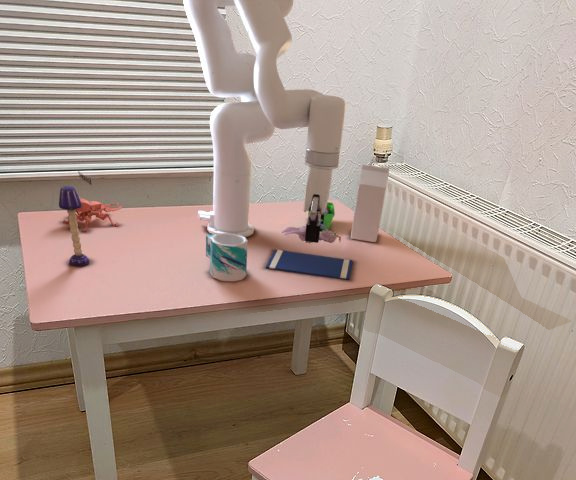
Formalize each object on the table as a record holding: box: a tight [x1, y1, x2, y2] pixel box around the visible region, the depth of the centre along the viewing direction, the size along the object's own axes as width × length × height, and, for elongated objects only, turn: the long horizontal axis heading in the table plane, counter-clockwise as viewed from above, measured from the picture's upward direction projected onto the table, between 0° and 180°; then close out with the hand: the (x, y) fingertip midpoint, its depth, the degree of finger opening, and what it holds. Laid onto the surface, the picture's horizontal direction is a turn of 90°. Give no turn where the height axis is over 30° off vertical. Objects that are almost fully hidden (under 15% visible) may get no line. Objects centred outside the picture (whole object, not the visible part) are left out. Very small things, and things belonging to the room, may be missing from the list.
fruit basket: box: [304, 188, 336, 231], centre depth 163 cm, size 11×9×11 cm
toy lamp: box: [58, 185, 90, 267], centre depth 126 cm, size 5×5×17 cm
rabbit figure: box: [281, 219, 342, 244], centre depth 135 cm, size 6×6×15 cm
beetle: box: [62, 170, 123, 233], centre depth 149 cm, size 15×12×13 cm
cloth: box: [265, 248, 354, 281], centre depth 141 cm, size 20×12×1 cm, turn 81°
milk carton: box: [350, 164, 390, 243], centre depth 156 cm, size 7×7×19 cm
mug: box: [205, 233, 249, 282], centre depth 131 cm, size 8×12×8 cm
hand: (313, 235), depth 137 cm, fingers closed on rabbit figure, 7 cm apart
